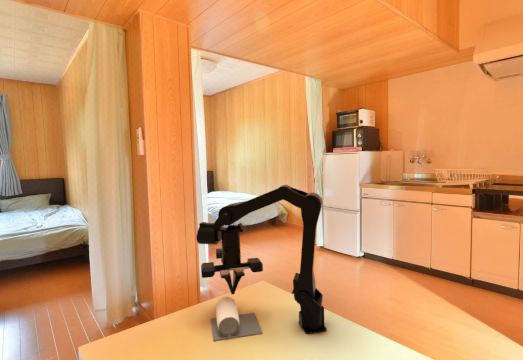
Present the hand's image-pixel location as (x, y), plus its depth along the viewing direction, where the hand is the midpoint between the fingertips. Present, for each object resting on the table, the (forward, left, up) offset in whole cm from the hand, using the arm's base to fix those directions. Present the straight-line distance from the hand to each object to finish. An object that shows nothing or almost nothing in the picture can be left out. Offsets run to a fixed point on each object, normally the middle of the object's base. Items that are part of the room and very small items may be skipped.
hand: (232, 293), depth 97 cm
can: (+2, -2, -4) cm, 5 cm away
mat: (0, +5, -8) cm, 9 cm away
